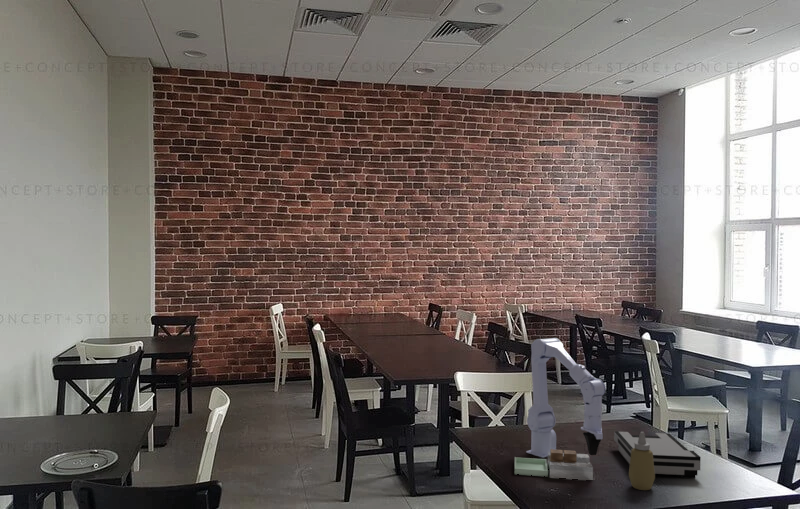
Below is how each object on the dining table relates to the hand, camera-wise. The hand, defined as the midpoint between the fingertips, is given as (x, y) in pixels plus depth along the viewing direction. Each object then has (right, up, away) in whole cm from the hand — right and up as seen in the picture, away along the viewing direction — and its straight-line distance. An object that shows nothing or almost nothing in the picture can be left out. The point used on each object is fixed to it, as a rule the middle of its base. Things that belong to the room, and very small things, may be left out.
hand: (592, 454), depth 215 cm
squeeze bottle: (+12, -7, -12) cm, 19 cm away
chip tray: (-20, -7, +4) cm, 22 cm away
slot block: (-8, -7, +1) cm, 10 cm away
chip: (-7, -4, +1) cm, 8 cm away
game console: (+26, -8, +12) cm, 30 cm away
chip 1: (-12, -4, +2) cm, 13 cm away
